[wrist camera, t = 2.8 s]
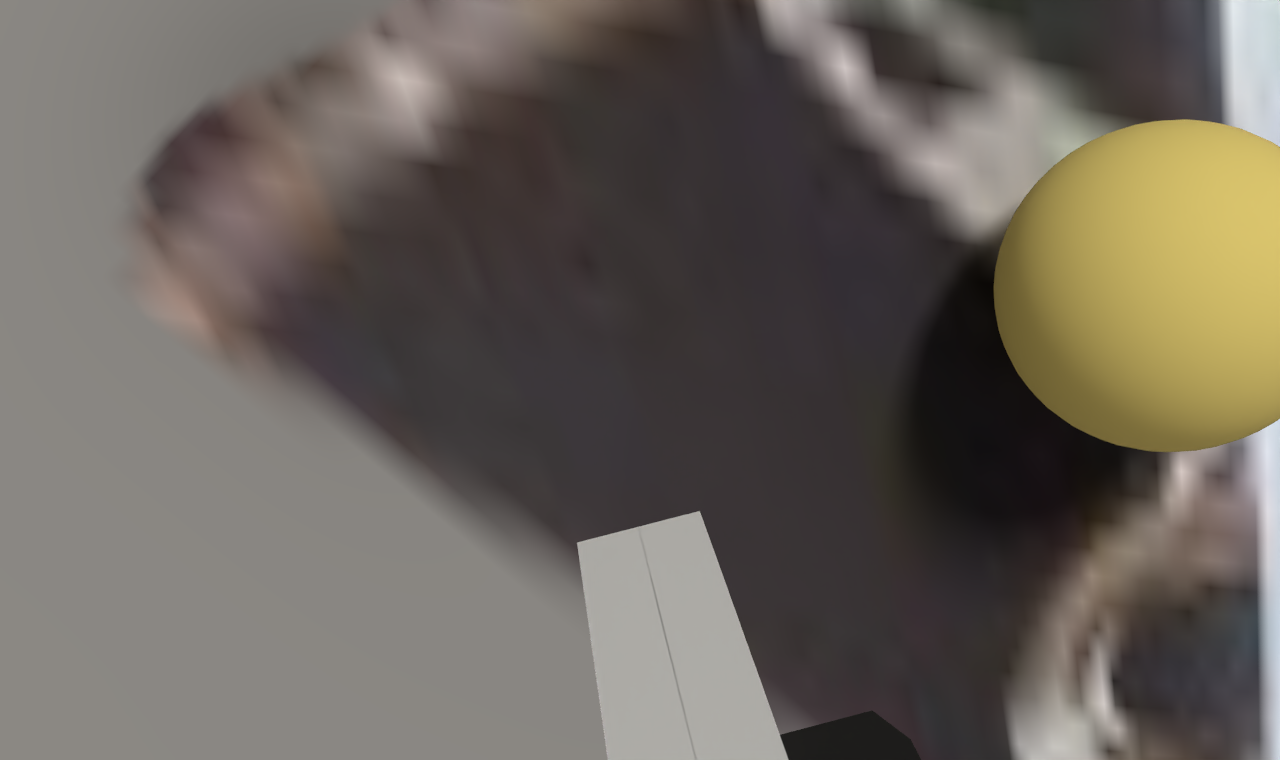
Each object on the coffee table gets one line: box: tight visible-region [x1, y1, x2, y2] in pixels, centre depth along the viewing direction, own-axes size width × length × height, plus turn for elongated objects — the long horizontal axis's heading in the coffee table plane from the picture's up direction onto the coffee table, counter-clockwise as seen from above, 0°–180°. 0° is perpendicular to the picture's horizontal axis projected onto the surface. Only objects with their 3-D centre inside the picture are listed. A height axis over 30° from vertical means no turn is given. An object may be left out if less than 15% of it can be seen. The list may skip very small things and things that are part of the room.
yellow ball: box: [994, 120, 1280, 452], centre depth 20 cm, size 6×6×6 cm
